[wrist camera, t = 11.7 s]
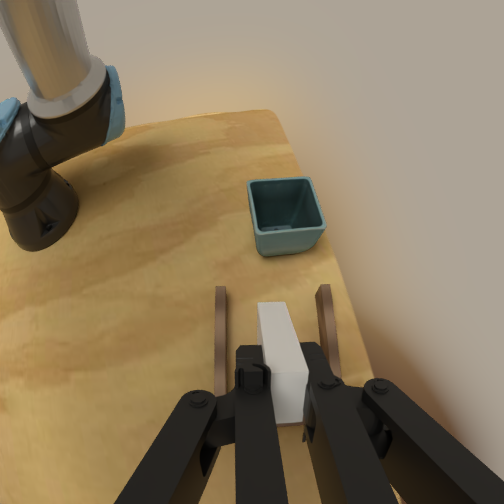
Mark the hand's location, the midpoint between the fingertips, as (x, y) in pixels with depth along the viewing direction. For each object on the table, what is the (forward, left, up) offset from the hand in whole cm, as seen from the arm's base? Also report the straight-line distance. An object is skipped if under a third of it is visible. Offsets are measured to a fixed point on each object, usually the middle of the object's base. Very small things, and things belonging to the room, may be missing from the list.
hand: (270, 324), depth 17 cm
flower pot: (-20, +4, -22) cm, 30 cm away
